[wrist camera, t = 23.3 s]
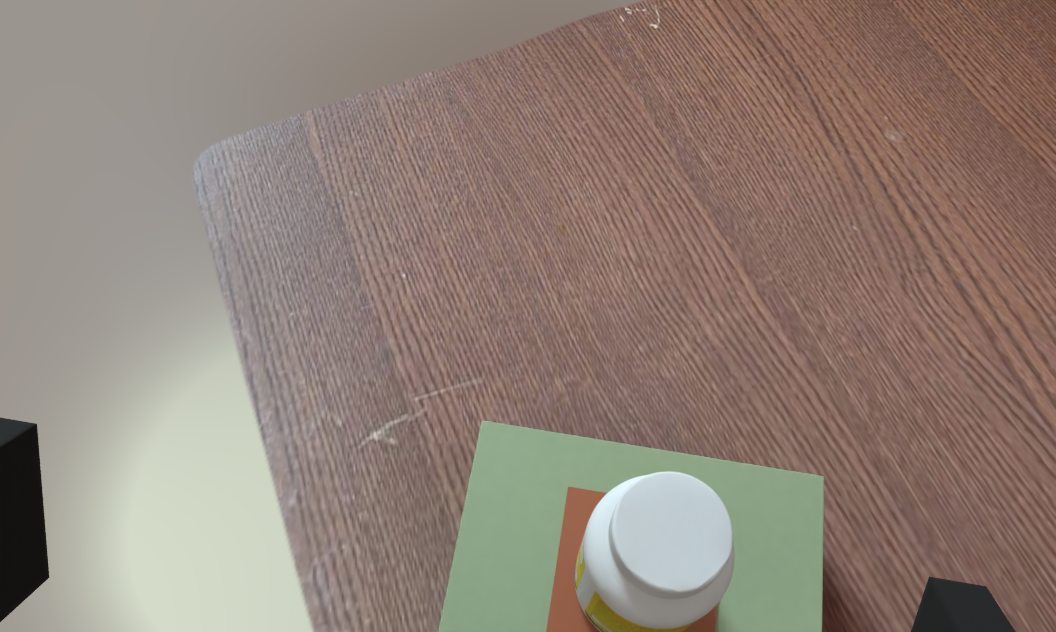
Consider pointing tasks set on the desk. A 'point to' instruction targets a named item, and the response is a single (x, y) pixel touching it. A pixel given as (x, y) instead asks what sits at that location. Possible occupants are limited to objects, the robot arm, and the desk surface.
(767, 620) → the shelf
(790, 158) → the desk surface
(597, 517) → the supplement bottle
